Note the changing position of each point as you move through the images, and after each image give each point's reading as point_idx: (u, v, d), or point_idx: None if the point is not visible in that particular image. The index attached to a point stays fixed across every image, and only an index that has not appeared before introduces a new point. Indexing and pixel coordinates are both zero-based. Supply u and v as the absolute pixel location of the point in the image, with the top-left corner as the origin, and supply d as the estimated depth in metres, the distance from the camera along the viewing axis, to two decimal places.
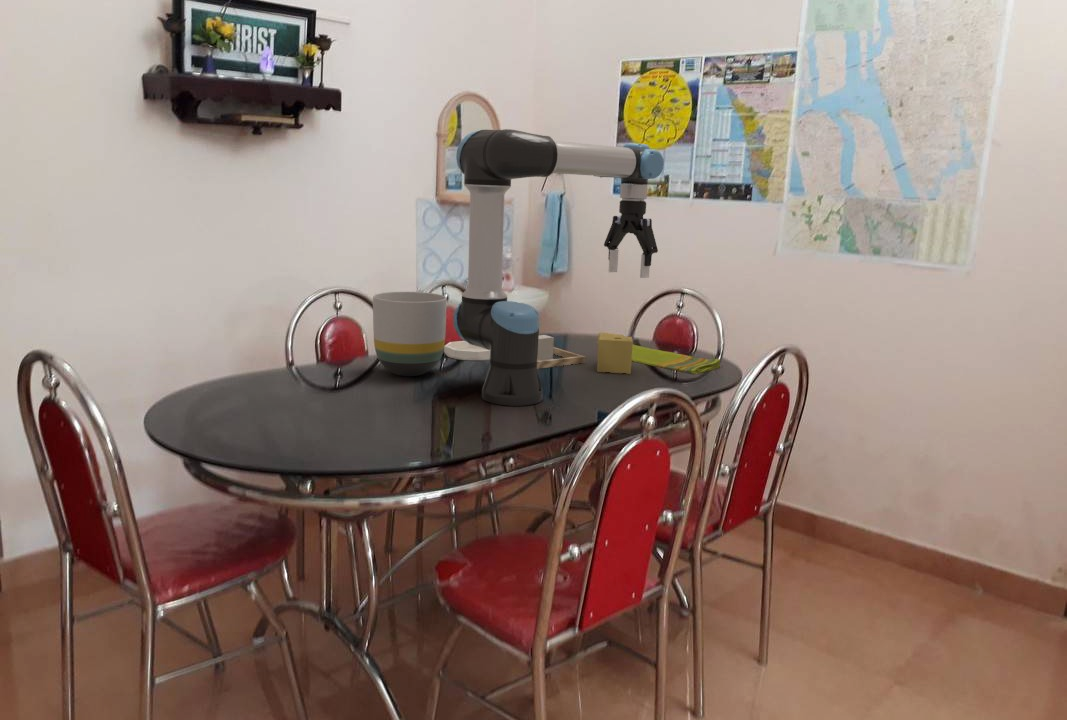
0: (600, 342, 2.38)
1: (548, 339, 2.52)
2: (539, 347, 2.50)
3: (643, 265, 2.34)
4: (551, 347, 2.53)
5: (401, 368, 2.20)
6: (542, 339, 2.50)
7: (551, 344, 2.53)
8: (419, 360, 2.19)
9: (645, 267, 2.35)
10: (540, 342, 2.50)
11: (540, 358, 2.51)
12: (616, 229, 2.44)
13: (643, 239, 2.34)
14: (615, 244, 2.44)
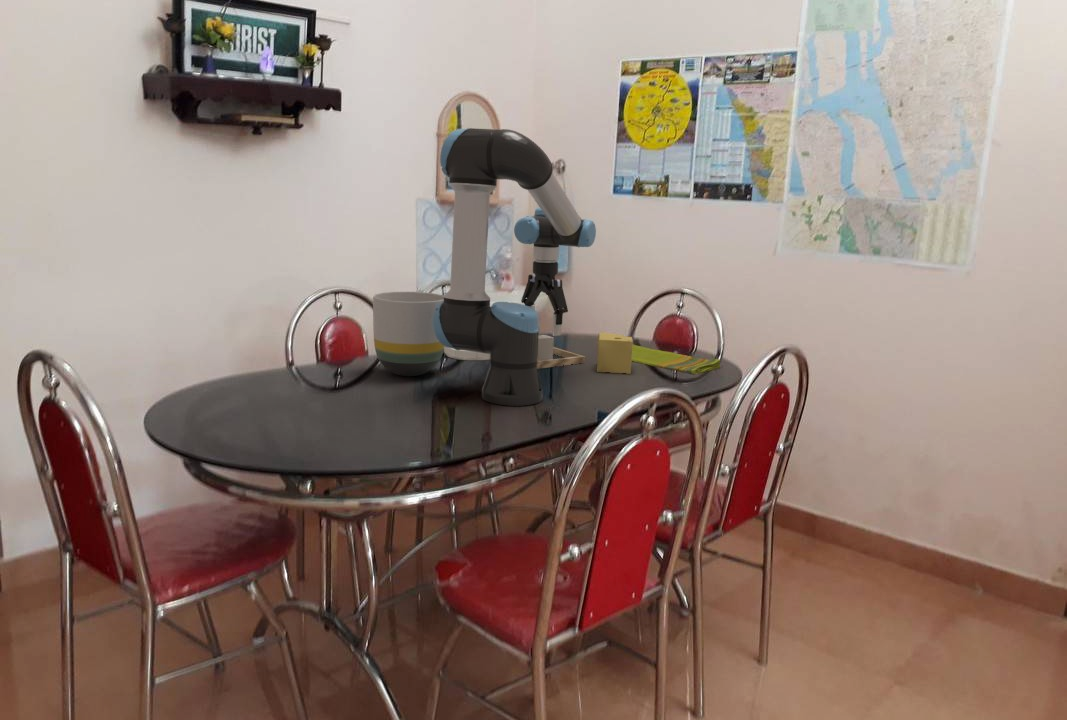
0: (600, 342, 2.38)
1: (548, 339, 2.52)
2: (539, 347, 2.50)
3: (555, 324, 2.46)
4: (551, 347, 2.53)
5: (401, 368, 2.20)
6: (542, 339, 2.50)
7: (551, 344, 2.53)
8: (419, 360, 2.19)
9: (557, 325, 2.46)
10: (540, 342, 2.50)
11: (540, 358, 2.51)
12: (532, 287, 2.55)
13: (554, 299, 2.46)
14: (531, 301, 2.56)
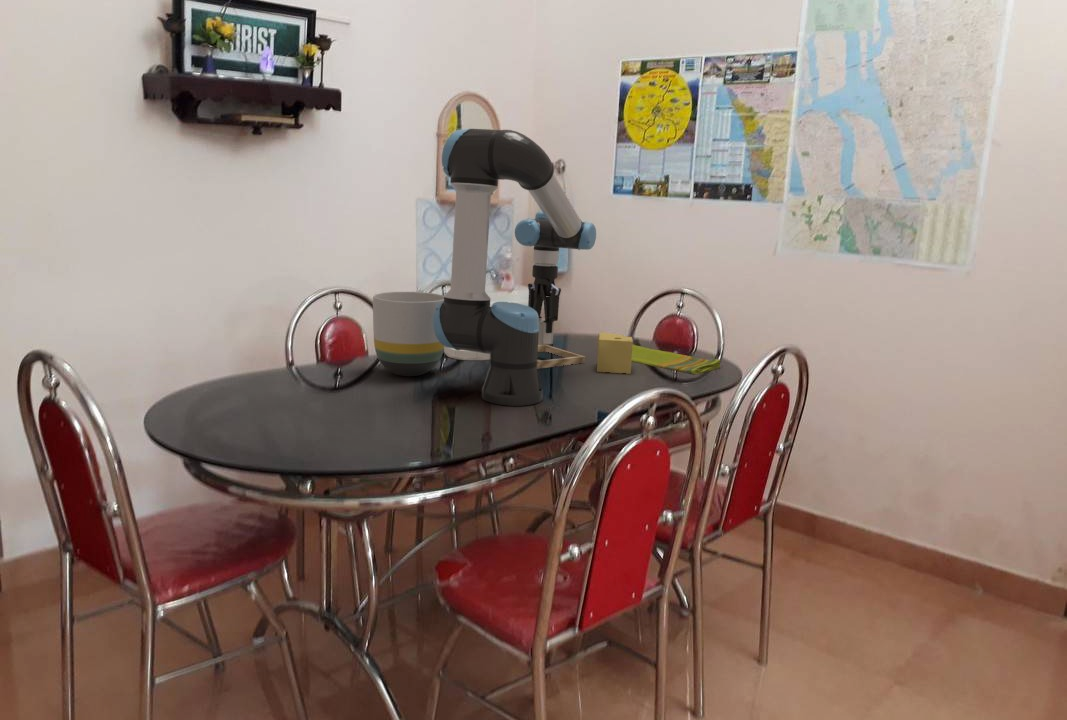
0: (600, 342, 2.38)
1: None
2: (539, 330, 2.49)
3: (545, 332, 2.49)
4: None
5: (401, 368, 2.20)
6: (542, 322, 2.49)
7: None
8: (419, 360, 2.19)
9: (547, 334, 2.50)
10: (540, 325, 2.49)
11: (540, 342, 2.50)
12: None
13: (548, 306, 2.48)
14: (537, 312, 2.53)
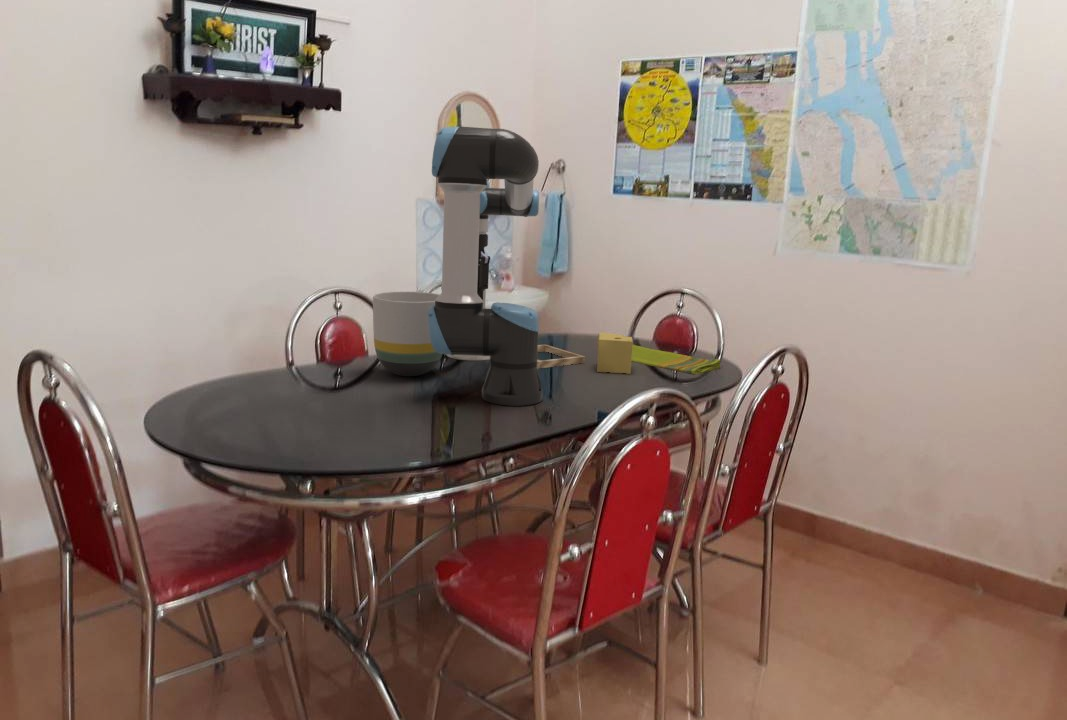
0: (600, 342, 2.38)
1: None
2: None
3: None
4: (483, 299, 2.52)
5: (401, 368, 2.20)
6: None
7: None
8: (419, 360, 2.19)
9: None
10: None
11: None
12: None
13: (479, 275, 2.48)
14: None
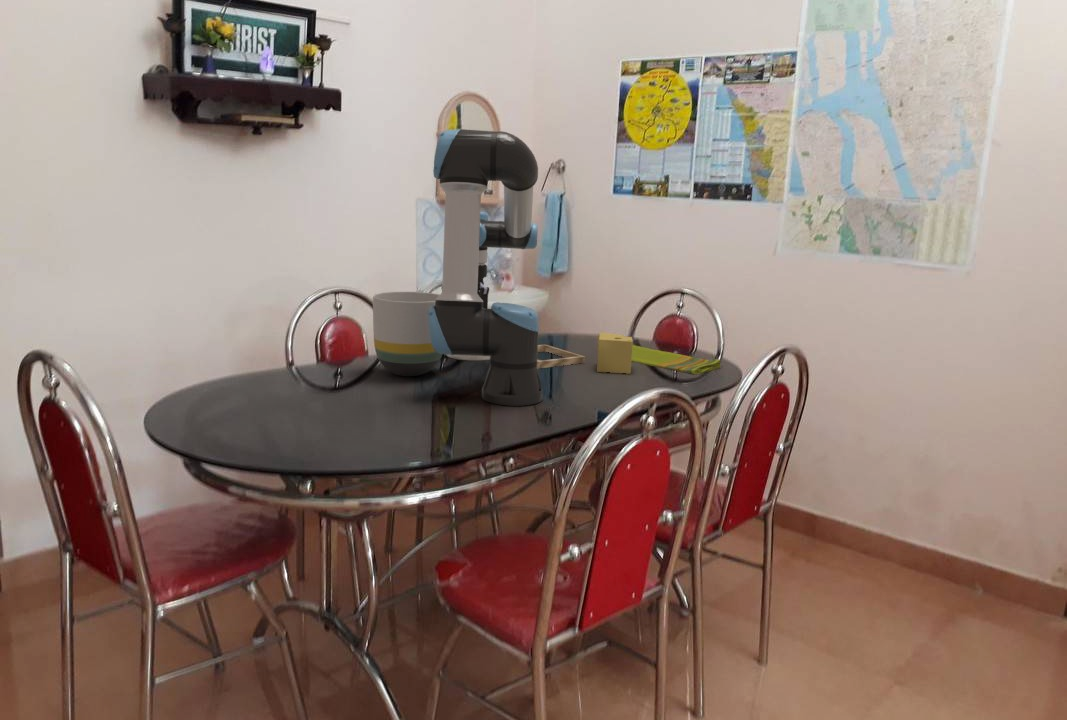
0: (600, 342, 2.38)
1: None
2: None
3: None
4: None
5: (401, 368, 2.20)
6: None
7: None
8: (419, 360, 2.19)
9: None
10: None
11: None
12: None
13: None
14: None
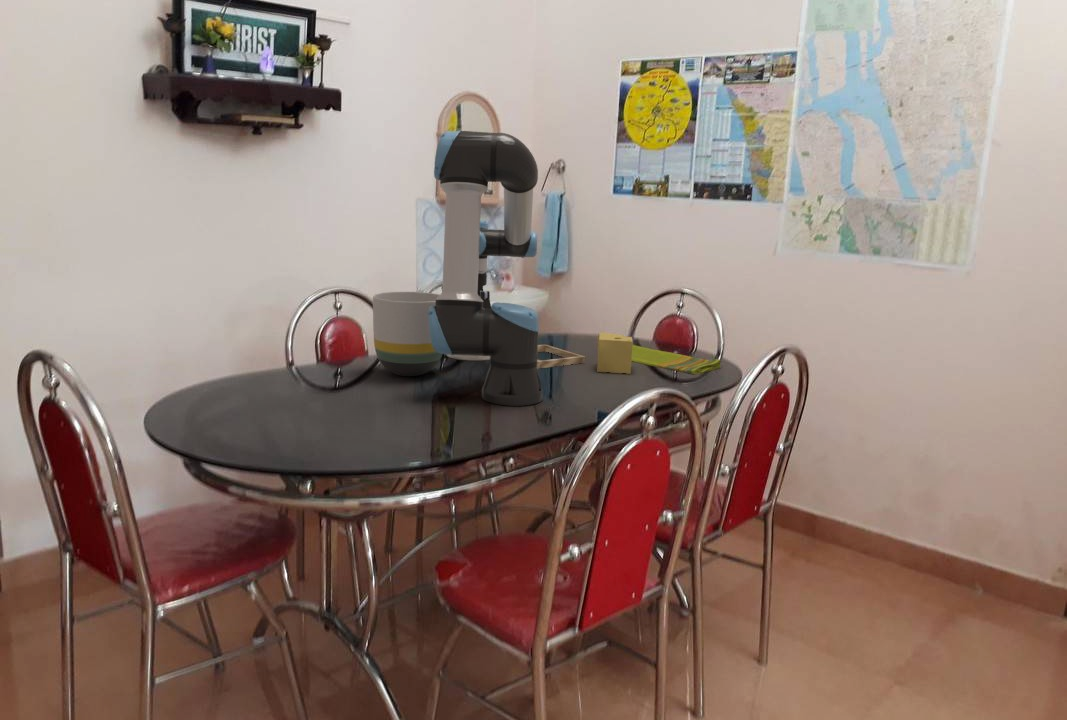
0: (600, 342, 2.38)
1: None
2: None
3: None
4: None
5: (401, 368, 2.20)
6: None
7: None
8: (419, 360, 2.19)
9: None
10: None
11: None
12: None
13: None
14: None
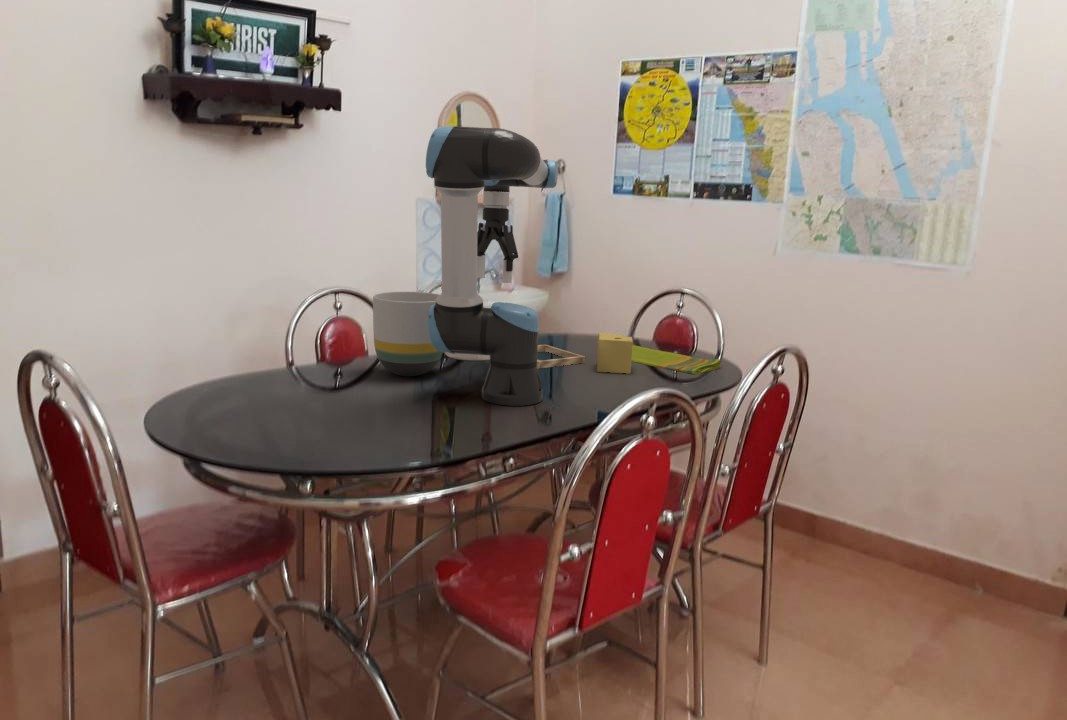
0: (600, 342, 2.38)
1: None
2: None
3: (505, 271, 2.40)
4: None
5: (401, 368, 2.20)
6: None
7: None
8: (419, 360, 2.19)
9: (507, 272, 2.40)
10: None
11: None
12: (482, 236, 2.49)
13: (505, 245, 2.40)
14: (481, 250, 2.49)
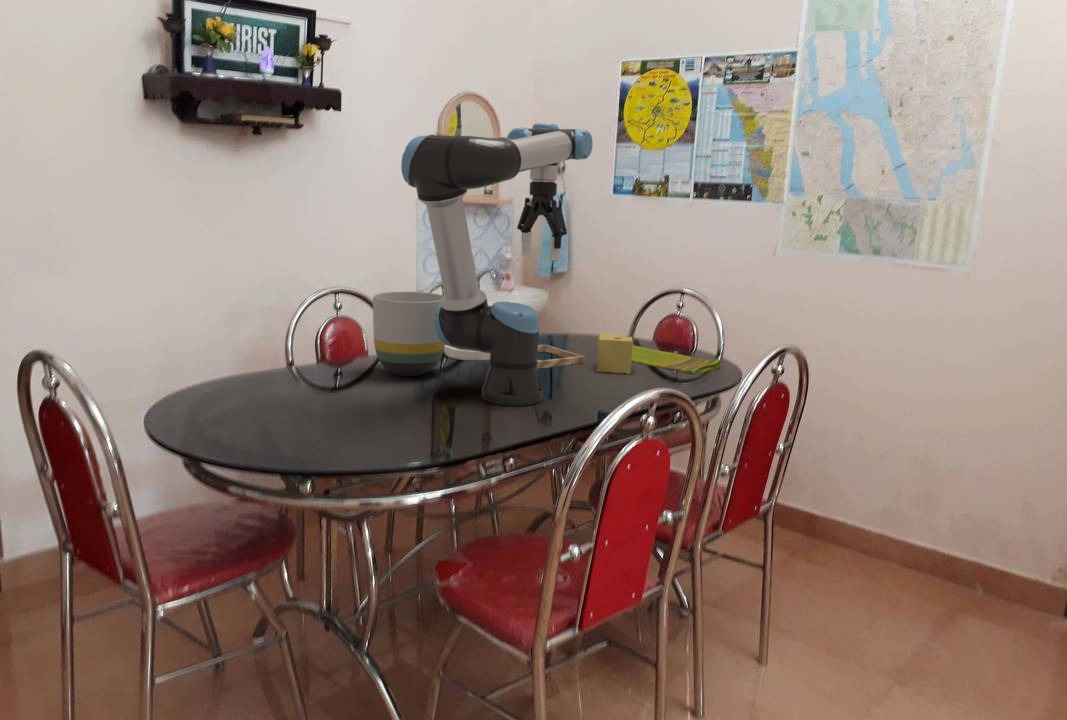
0: (600, 342, 2.38)
1: None
2: None
3: (553, 248, 2.30)
4: None
5: (401, 368, 2.20)
6: None
7: None
8: (419, 360, 2.19)
9: (555, 249, 2.30)
10: None
11: None
12: (529, 211, 2.39)
13: (553, 221, 2.30)
14: (528, 227, 2.40)
